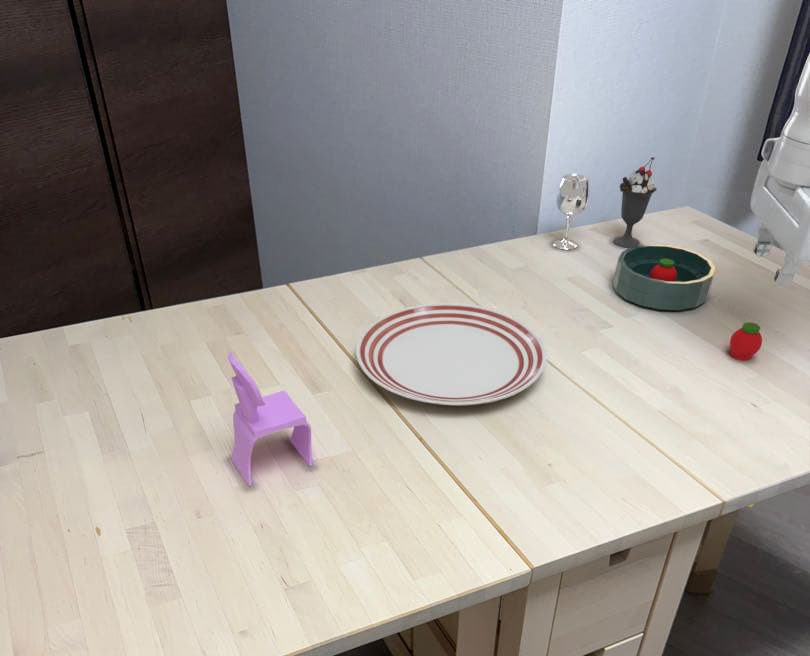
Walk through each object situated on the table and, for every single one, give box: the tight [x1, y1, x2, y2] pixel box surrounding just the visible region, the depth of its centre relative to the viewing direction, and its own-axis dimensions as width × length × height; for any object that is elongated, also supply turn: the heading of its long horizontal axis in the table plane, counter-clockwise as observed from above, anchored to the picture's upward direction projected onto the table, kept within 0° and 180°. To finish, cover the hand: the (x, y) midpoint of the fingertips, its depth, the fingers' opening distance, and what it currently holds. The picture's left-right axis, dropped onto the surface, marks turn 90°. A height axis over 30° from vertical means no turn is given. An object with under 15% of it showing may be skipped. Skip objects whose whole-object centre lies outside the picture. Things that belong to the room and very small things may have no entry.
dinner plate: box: [355, 302, 548, 406], centre depth 108 cm, size 28×27×3 cm
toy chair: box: [227, 352, 313, 487], centre depth 87 cm, size 8×9×15 cm
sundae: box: [612, 156, 658, 249], centre depth 138 cm, size 7×7×15 cm
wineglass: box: [552, 173, 590, 250], centre depth 138 cm, size 6×6×12 cm
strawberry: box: [650, 259, 677, 282], centre depth 126 cm, size 4×4×5 cm
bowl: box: [612, 243, 717, 311], centre depth 126 cm, size 16×16×5 cm
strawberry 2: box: [729, 321, 763, 361], centre depth 111 cm, size 4×4×5 cm
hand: (770, 269), depth 103 cm, fingers open, 8 cm apart
